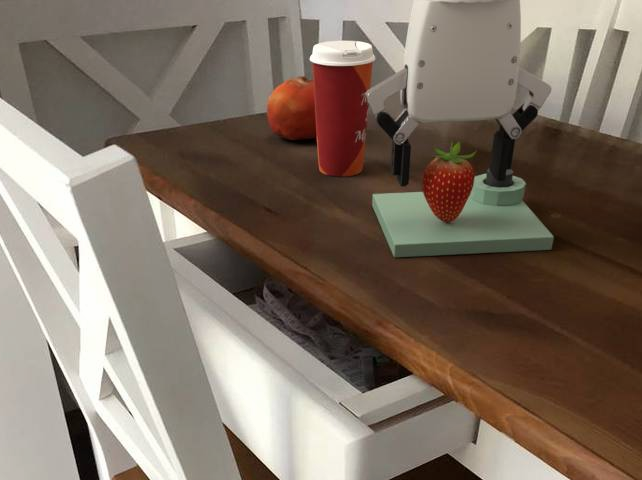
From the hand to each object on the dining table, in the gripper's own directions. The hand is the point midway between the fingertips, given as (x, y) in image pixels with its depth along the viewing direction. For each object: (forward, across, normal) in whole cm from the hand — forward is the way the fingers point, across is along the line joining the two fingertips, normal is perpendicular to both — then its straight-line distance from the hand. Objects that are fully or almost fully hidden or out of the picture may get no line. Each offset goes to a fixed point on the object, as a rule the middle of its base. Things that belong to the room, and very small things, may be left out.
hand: (449, 179), depth 73 cm
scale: (+6, -2, -2) cm, 6 cm away
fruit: (+5, 0, 0) cm, 5 cm away
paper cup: (+6, +8, -22) cm, 24 cm away
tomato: (+6, +12, -36) cm, 38 cm away
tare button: (+3, -7, -7) cm, 10 cm away
